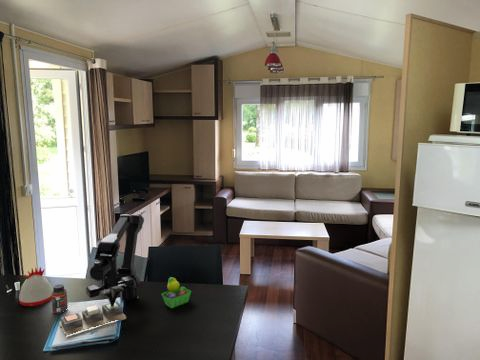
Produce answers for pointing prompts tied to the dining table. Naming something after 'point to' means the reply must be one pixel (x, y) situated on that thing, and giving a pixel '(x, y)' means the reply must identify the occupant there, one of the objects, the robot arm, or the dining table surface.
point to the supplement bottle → (59, 299)
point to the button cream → (92, 310)
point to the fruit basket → (175, 294)
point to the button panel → (92, 319)
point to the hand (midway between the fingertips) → (112, 305)
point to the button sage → (111, 306)
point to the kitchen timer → (35, 289)
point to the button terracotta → (71, 318)
